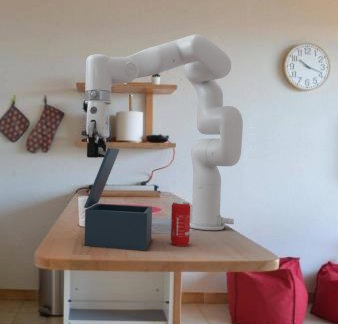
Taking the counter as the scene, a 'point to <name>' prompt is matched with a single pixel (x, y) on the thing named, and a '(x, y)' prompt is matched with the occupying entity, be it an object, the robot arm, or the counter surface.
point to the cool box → (118, 226)
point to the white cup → (83, 209)
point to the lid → (102, 175)
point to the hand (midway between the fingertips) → (96, 157)
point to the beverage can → (180, 223)
